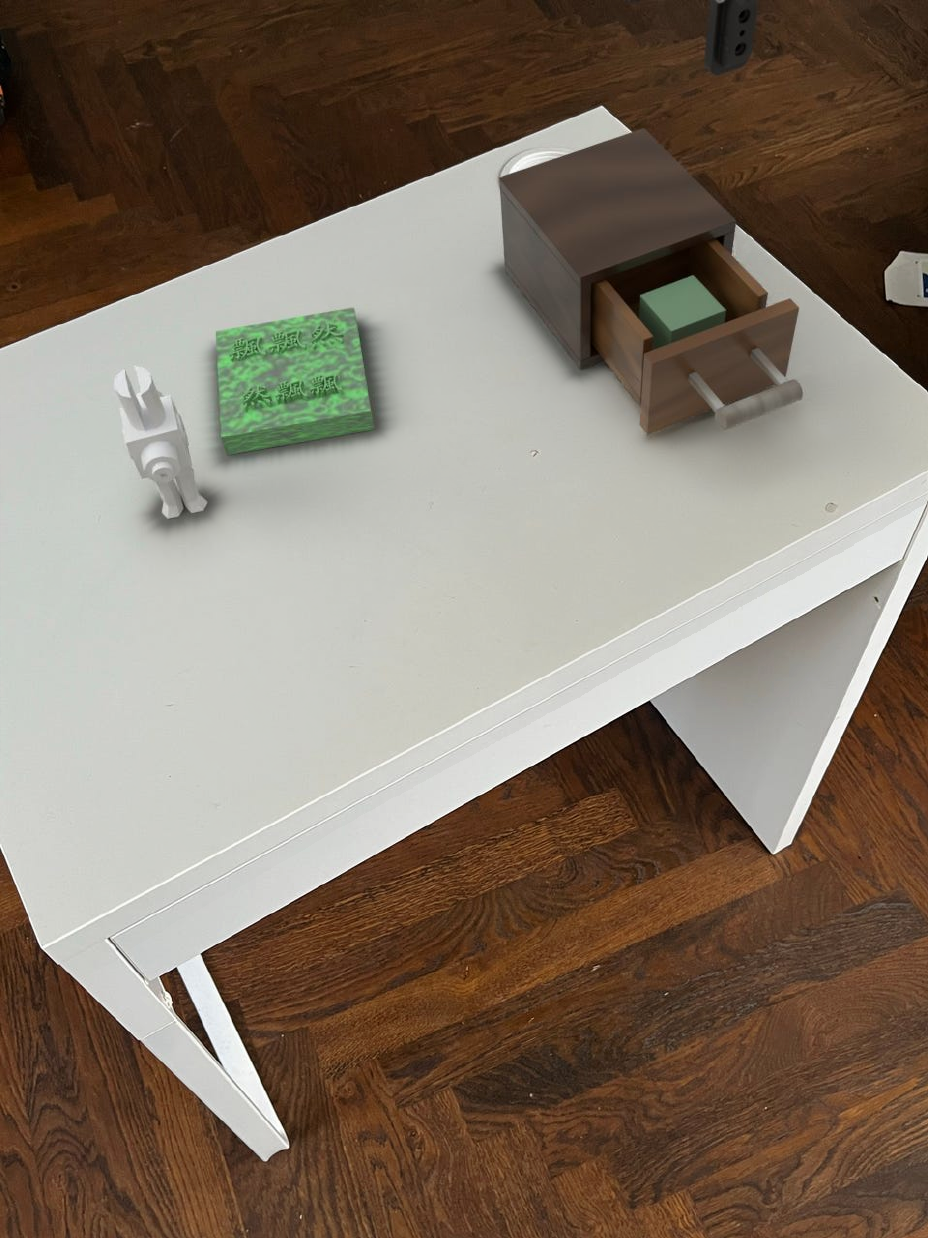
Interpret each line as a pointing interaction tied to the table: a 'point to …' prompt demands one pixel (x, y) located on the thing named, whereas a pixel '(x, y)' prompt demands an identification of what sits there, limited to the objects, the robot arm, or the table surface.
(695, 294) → the block
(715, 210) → the cabinet
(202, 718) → the table surface
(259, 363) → the green jade tablet
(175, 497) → the toy robot
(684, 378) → the drawer
